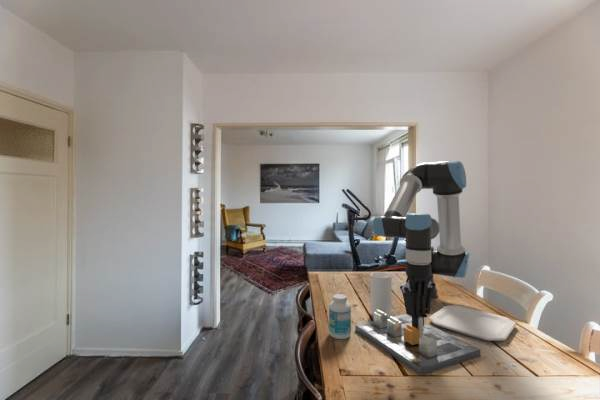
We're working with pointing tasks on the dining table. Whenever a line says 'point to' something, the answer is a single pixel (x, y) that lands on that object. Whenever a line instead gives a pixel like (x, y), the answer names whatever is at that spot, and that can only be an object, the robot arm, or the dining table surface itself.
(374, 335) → the panel
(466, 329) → the plate
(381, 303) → the cup
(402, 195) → the robot arm
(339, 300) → the pill bottle
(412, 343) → the block
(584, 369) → the dining table surface
